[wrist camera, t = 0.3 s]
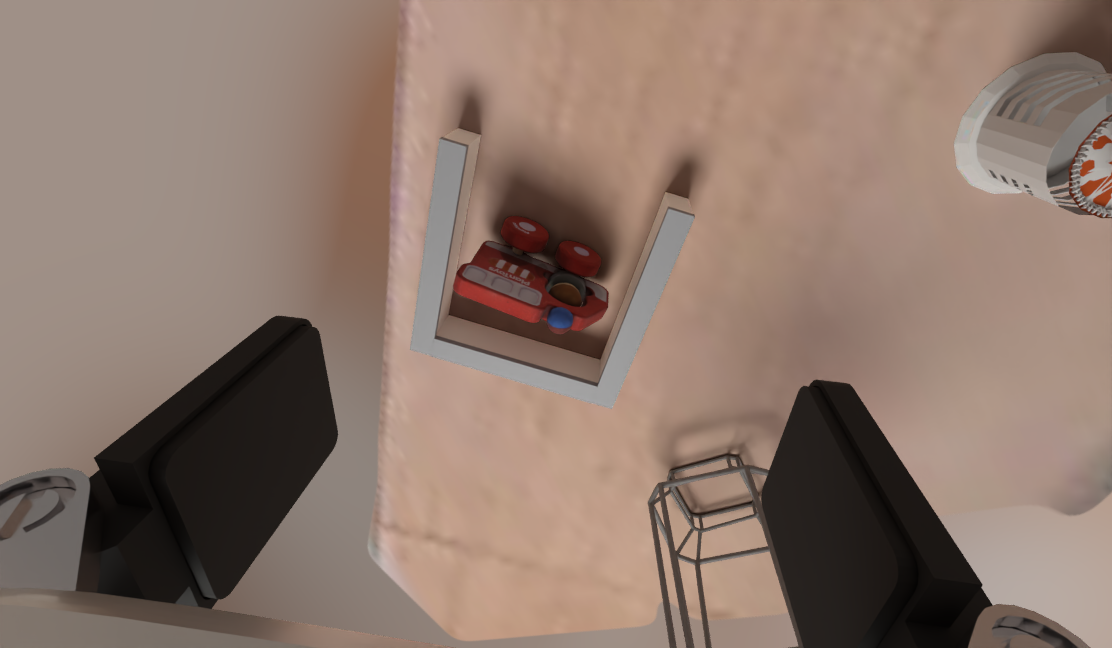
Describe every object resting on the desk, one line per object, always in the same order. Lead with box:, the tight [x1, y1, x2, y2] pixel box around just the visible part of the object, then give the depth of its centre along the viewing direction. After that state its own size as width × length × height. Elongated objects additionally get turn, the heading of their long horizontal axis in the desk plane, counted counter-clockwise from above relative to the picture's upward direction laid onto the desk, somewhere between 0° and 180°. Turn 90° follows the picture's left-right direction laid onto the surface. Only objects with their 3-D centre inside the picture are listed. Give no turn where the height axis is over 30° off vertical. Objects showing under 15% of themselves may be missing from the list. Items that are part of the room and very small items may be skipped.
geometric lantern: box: [648, 455, 804, 648], centre depth 44 cm, size 16×16×35 cm
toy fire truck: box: [453, 216, 609, 334], centre depth 43 cm, size 7×12×10 cm, turn 67°
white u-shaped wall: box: [410, 128, 695, 409], centre depth 46 cm, size 20×20×5 cm
